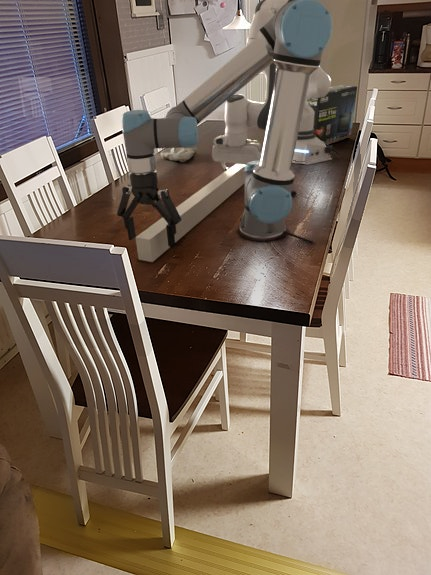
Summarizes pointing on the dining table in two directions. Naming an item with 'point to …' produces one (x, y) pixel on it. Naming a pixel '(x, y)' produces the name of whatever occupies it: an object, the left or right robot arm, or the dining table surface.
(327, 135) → the router box
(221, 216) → the dining table surface
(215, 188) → the post
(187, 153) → the fossil
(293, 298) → the dining table surface
